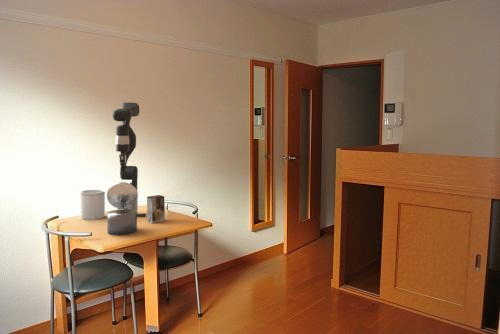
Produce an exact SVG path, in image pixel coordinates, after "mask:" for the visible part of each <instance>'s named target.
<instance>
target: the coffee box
mask: <svg viewBox="0 0 500 334" xmlns="http://www.w3.org/2000/svg"><path fill="white" fill-rule="evenodd" d="M146 211H147V213H146V218H147V221H146V222H147V223H150V224H156V223H161V222H165V217H166V215H165V196H164V195H161V194H157V195H150V196H146Z"/></svg>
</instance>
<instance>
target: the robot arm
mask: <svg viewBox="0 0 500 334" xmlns="http://www.w3.org/2000/svg"><path fill="white" fill-rule="evenodd" d="M139 115H140V105H139V104H138V103H137V102H126V101H125V102H122V104H121V108H115V109H114V110H113V111H112V119H113V120H114V121H115V122H121V124H119V125H117V126H116V127H115V129H116V131H115V134H116V135H115V136H116V137H115V151H116V152H118V153H119V152H120V153H119V155H118V157H119V166H120V167H119V168H120V169H119V177H120V179H121V180H122V181H131V182H129V184H131V185H133V186H134V187H135V188H136V190H137V191H138V176H139V175H138V173H139V172H138V167H137V166H136V165H127V163H128V161H129V158H130V156H131V155H132V153H133V152H134V150H135V148H136V147H137V135H136V133H135V131H134V130H133V128H132V127H131V125H130V123H131V120H132V117H133V118H134V117H138V116H139ZM138 203H139V201H138V199H137V201H136V203H135V204H134V205H133V206H131V207H129V208H128V210H135V211H137V214H138V213H139V212H138V211H139V210H138V208H139V205H138Z"/></svg>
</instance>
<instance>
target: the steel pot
mask: <svg viewBox="0 0 500 334" xmlns="http://www.w3.org/2000/svg"><path fill="white" fill-rule="evenodd" d="M106 215H107V216H106V218H107V219H106V221H107V225H106V226H107V234H108V235H110V236H129V235H132V234H136V233H137V232H138V218H147V213H145V212H143V213H142V212H140V213H139V212H138V214H137V211H135V210H128V209H115V210H110V211H107V213H106Z"/></svg>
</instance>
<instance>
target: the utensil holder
mask: <svg viewBox="0 0 500 334" xmlns="http://www.w3.org/2000/svg"><path fill="white" fill-rule="evenodd" d="M79 192H80V193H79V194H80V210H81V219H82V220H87V221H94V220H95V221H96V220H100V219H104V218H105V215H106V214H105V211H106V208H105V203H106V202H105V201H106V200H105V195H106V194H105V193H106V190H105V189H103V188H88V189H82V190H80V191H79Z"/></svg>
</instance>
